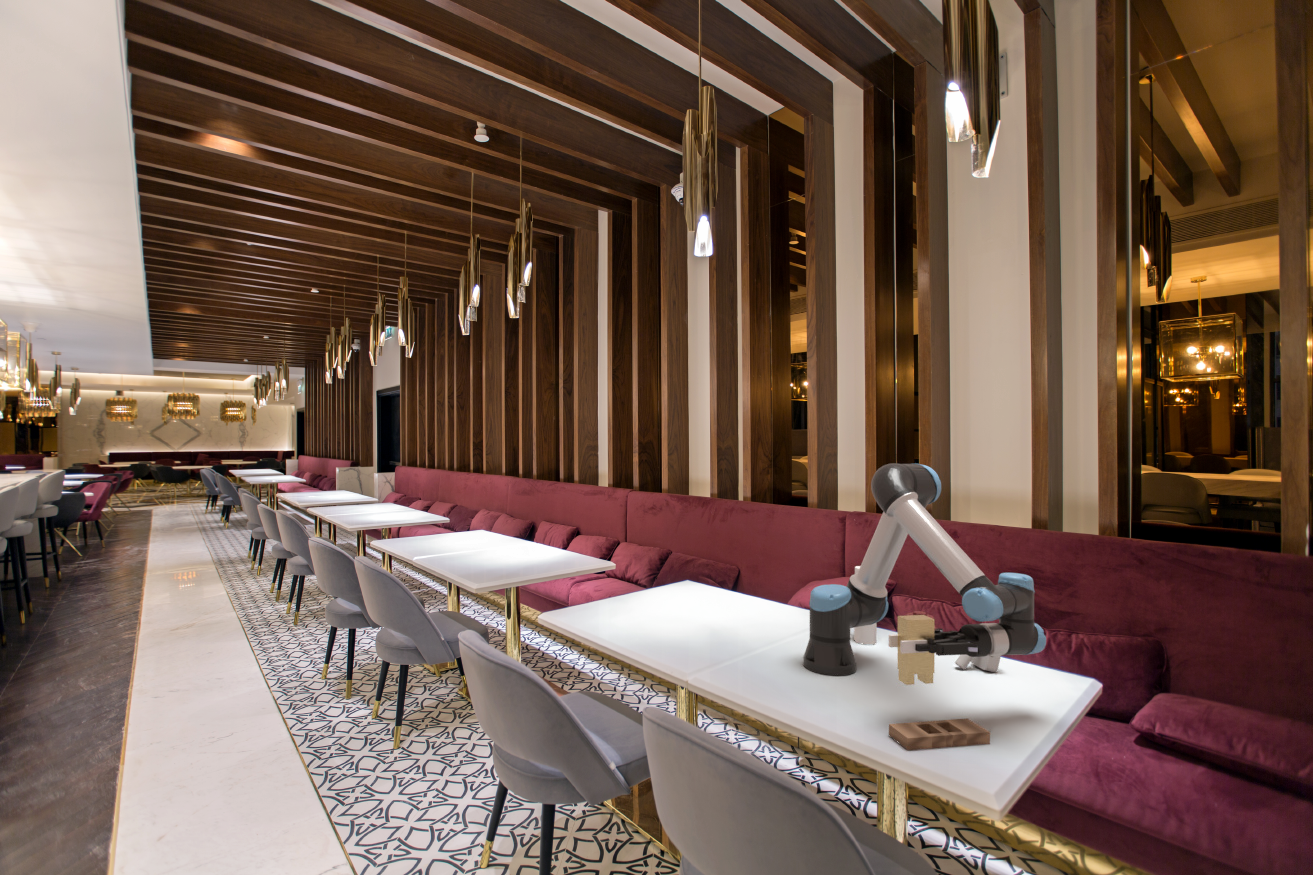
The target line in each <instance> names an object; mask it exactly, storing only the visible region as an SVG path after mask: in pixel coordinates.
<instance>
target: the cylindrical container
mask: <svg viewBox="0 0 1313 875" xmlns="http://www.w3.org/2000/svg"><path fill="white" fill-rule="evenodd" d="M860 566H861V565H856V566H854V574H857V573H858V571H859V569H860ZM877 623H878V622H876V623H874V624H872V625H865V626H860V627H854V628H853V629H854V630H853V631H854V633H853V635H854V636H853V641H854V640H855V641H856V642H855V641H854V642H855V643H857V642H858V643H857V644H859V643H863V644H862V645H864V644H874V645H876V644H877V633H878V632H877V630H878V629H877V627H878V626H877ZM875 643H876V644H875Z"/></svg>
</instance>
